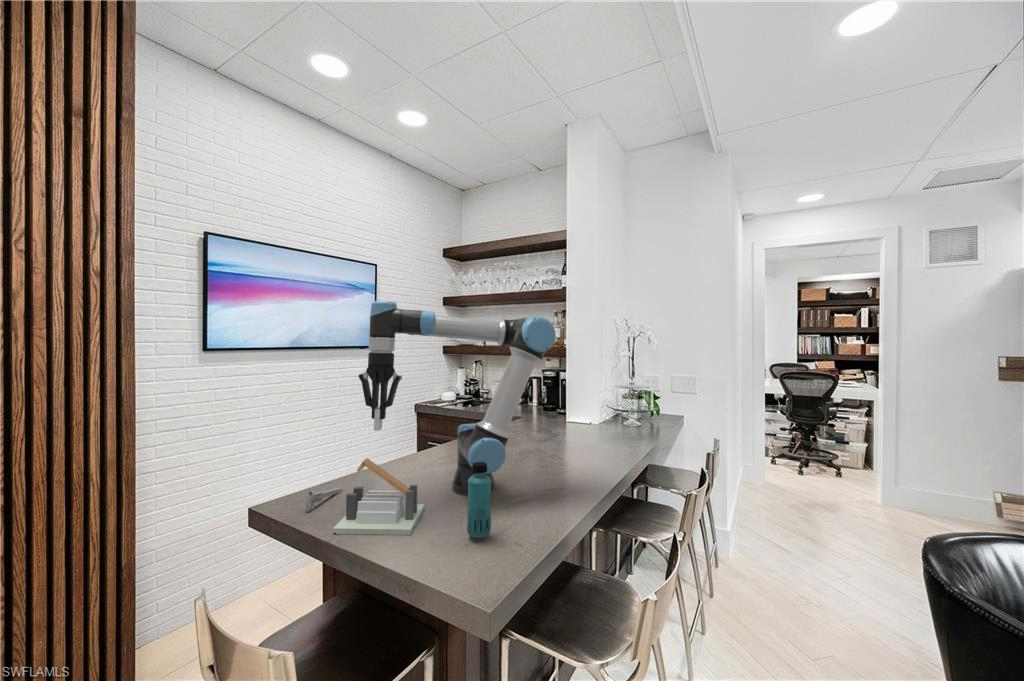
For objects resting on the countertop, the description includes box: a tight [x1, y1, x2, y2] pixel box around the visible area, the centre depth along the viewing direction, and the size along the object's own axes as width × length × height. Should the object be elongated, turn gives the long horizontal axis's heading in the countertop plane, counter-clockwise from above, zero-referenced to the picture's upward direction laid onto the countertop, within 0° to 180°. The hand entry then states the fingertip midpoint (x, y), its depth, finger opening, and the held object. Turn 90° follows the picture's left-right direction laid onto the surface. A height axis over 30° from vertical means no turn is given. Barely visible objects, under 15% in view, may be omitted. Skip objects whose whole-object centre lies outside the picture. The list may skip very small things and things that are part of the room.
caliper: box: [305, 487, 344, 513], centre depth 138 cm, size 20×1×6 cm, turn 173°
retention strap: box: [356, 457, 415, 496], centre depth 124 cm, size 18×3×4 cm
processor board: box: [332, 484, 426, 536], centre depth 124 cm, size 21×18×10 cm
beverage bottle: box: [466, 462, 492, 538], centre depth 113 cm, size 6×7×20 cm
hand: (377, 429), depth 129 cm, fingers closed
